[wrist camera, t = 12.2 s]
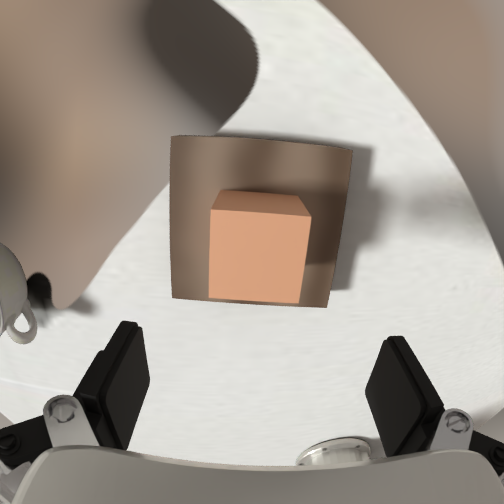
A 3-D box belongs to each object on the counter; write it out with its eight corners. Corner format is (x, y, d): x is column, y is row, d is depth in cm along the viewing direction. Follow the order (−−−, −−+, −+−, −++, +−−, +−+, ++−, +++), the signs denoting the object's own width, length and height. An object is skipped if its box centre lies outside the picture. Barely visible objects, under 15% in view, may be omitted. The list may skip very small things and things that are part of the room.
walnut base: (342, 147, 26) (352, 150, 23) (320, 291, 31) (326, 307, 28) (179, 135, 25) (171, 136, 22) (178, 282, 31) (172, 298, 28)
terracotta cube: (297, 195, 24) (311, 216, 19) (289, 266, 27) (298, 303, 21) (220, 189, 24) (210, 209, 19) (217, 261, 26) (208, 297, 21)
